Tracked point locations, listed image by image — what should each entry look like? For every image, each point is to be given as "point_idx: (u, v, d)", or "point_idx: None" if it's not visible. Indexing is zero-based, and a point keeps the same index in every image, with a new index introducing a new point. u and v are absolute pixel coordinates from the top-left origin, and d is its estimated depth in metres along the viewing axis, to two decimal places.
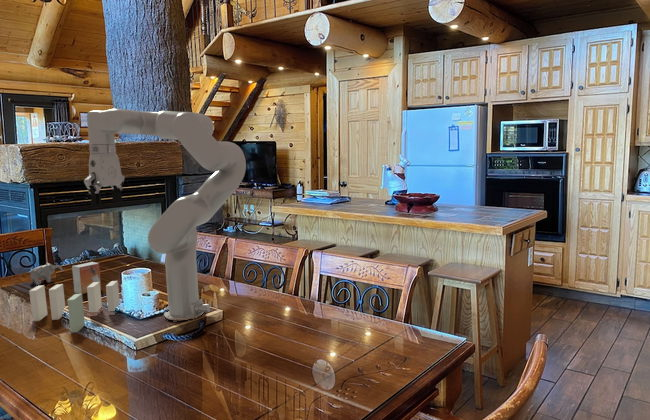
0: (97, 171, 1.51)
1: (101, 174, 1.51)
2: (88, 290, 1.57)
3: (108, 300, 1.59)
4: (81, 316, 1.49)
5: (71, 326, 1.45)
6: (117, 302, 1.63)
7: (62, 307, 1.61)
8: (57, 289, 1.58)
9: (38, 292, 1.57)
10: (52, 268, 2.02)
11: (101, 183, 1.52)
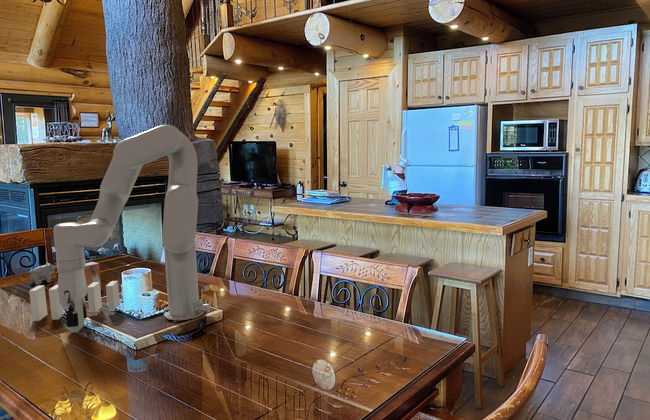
0: None
1: None
2: (88, 290, 1.57)
3: (108, 300, 1.59)
4: (81, 316, 1.49)
5: None
6: (117, 302, 1.63)
7: None
8: (57, 289, 1.58)
9: (38, 292, 1.57)
10: (52, 268, 2.02)
11: None
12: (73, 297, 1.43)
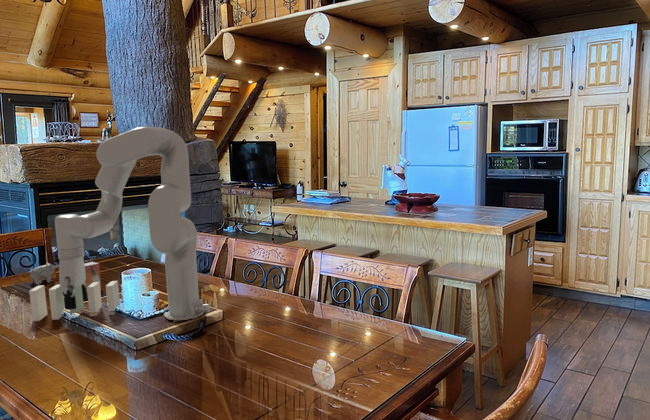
0: None
1: None
2: (88, 290, 1.57)
3: (108, 300, 1.59)
4: (80, 303, 1.61)
5: None
6: (117, 302, 1.63)
7: (62, 307, 1.61)
8: (57, 289, 1.58)
9: (38, 292, 1.57)
10: (52, 268, 2.02)
11: None
12: (73, 283, 1.55)
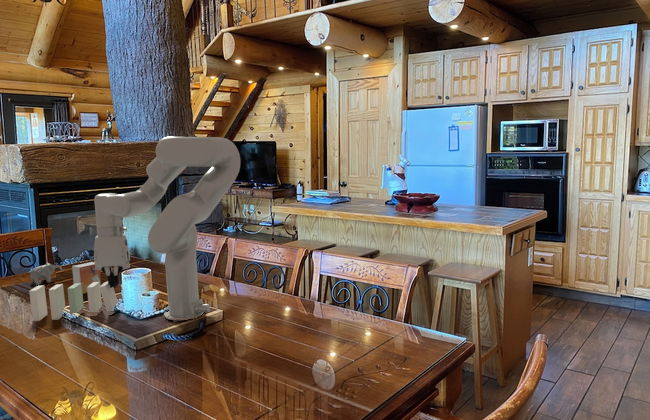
0: (128, 249, 1.62)
1: None
2: (88, 290, 1.57)
3: (105, 300, 1.58)
4: (80, 303, 1.61)
5: None
6: (115, 301, 1.63)
7: (62, 307, 1.61)
8: (57, 289, 1.58)
9: (38, 292, 1.57)
10: (52, 268, 2.02)
11: None
12: (94, 260, 1.58)
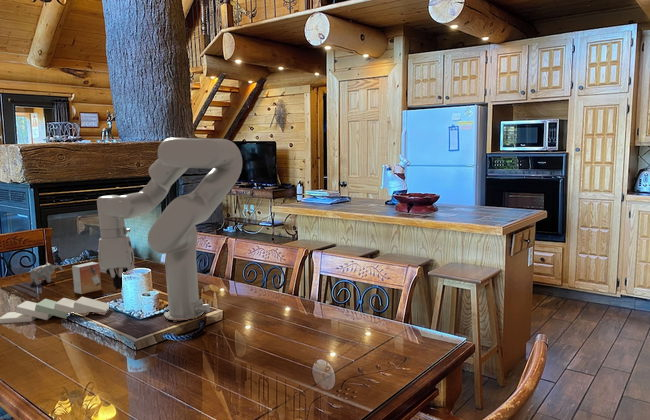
0: (132, 250, 1.62)
1: None
2: (57, 308, 1.57)
3: (88, 310, 1.58)
4: None
5: (60, 316, 1.58)
6: (100, 304, 1.62)
7: None
8: (20, 305, 1.58)
9: (3, 317, 1.57)
10: (52, 268, 2.02)
11: None
12: None
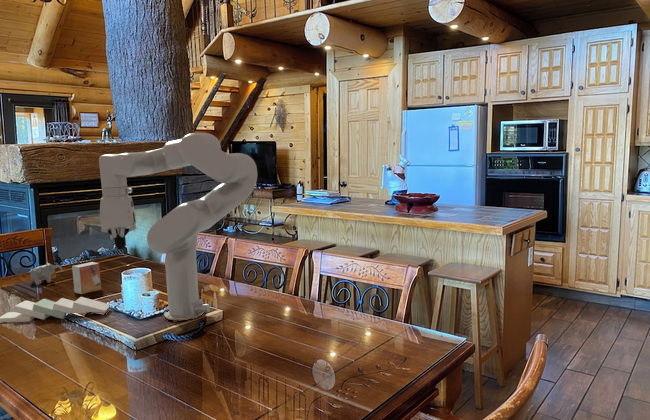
0: (134, 210, 1.60)
1: None
2: (56, 309, 1.57)
3: (87, 310, 1.58)
4: None
5: (57, 316, 1.57)
6: (99, 304, 1.62)
7: None
8: (19, 304, 1.58)
9: (2, 316, 1.57)
10: (52, 268, 2.02)
11: None
12: (100, 221, 1.56)
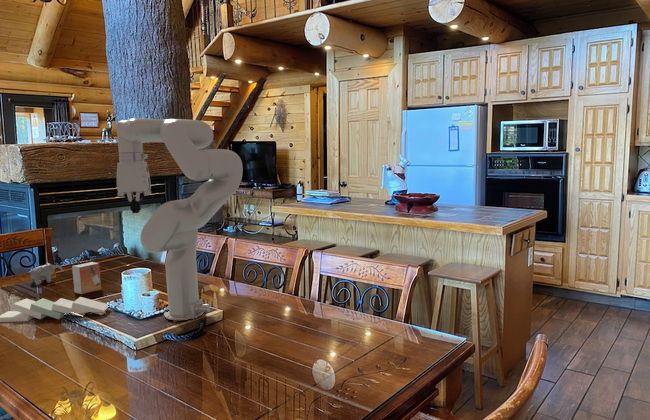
0: (149, 176, 1.66)
1: None
2: (55, 309, 1.57)
3: (86, 310, 1.58)
4: None
5: (53, 316, 1.57)
6: (98, 304, 1.62)
7: None
8: (18, 302, 1.59)
9: (1, 316, 1.58)
10: (52, 268, 2.02)
11: None
12: None
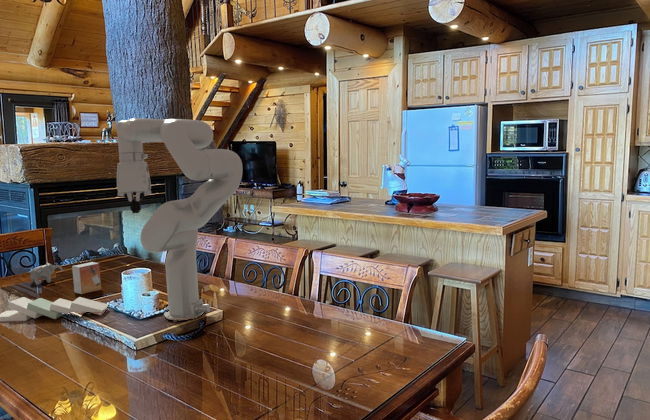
0: (149, 176, 1.66)
1: None
2: (53, 309, 1.58)
3: (85, 310, 1.59)
4: None
5: (50, 316, 1.57)
6: (97, 304, 1.62)
7: None
8: (14, 300, 1.60)
9: (0, 315, 1.59)
10: (52, 268, 2.02)
11: None
12: (117, 185, 1.62)
